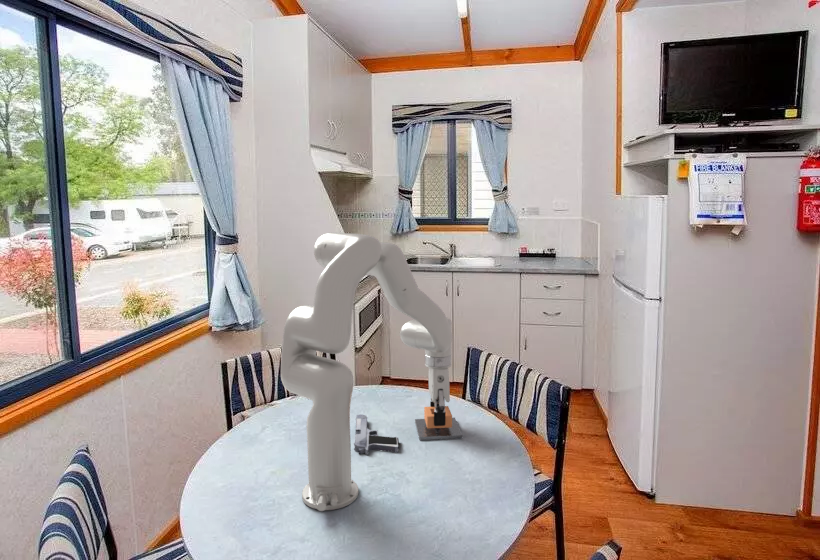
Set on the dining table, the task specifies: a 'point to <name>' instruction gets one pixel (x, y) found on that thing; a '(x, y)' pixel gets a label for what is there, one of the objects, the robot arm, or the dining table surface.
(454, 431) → the plate
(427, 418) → the orange square ring block
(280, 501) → the dining table surface
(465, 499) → the dining table surface
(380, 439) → the handgun
